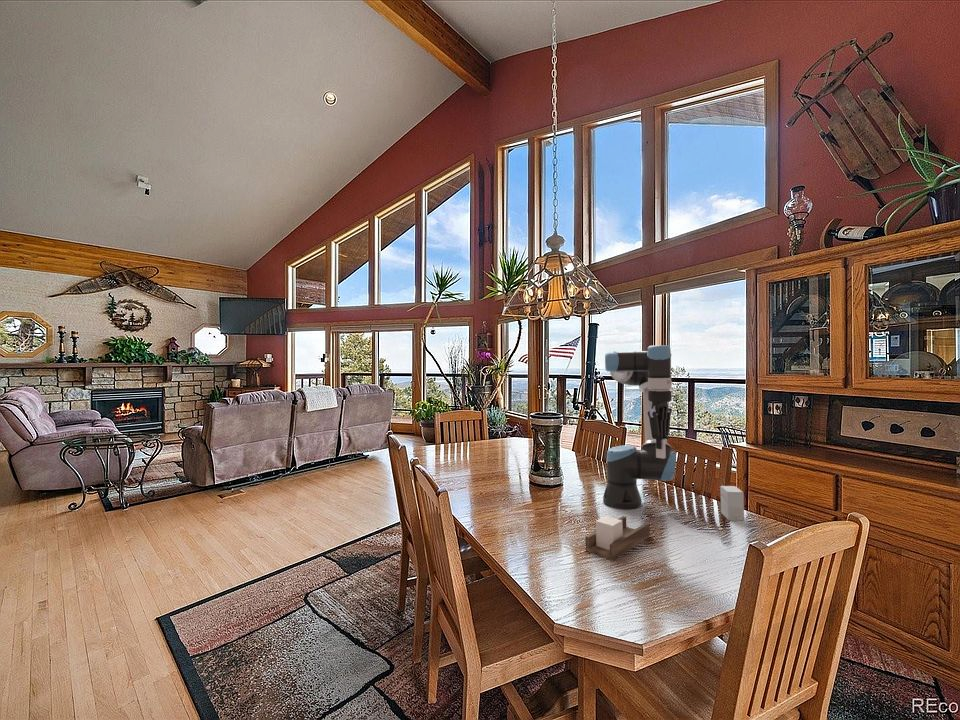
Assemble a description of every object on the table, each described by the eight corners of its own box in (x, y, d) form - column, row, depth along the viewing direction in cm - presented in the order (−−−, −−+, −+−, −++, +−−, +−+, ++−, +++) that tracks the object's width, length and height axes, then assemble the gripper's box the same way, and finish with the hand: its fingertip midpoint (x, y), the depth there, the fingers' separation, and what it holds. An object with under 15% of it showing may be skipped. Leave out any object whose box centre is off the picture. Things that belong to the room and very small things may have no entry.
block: (596, 545, 143) (595, 520, 143) (606, 540, 148) (605, 515, 147) (613, 551, 139) (612, 525, 139) (622, 545, 143) (622, 520, 143)
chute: (585, 550, 143) (585, 536, 143) (623, 528, 159) (623, 516, 159) (613, 560, 136) (613, 545, 136) (650, 536, 152) (649, 523, 152)
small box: (744, 521, 163) (744, 492, 163) (727, 520, 165) (727, 491, 164) (736, 513, 171) (736, 485, 171) (720, 512, 172) (720, 485, 172)
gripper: (660, 392, 148) (662, 463, 149) (679, 388, 157) (680, 456, 157) (639, 390, 154) (641, 459, 155) (658, 387, 162) (659, 452, 163)
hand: (660, 457), depth 156 cm, fingers closed
